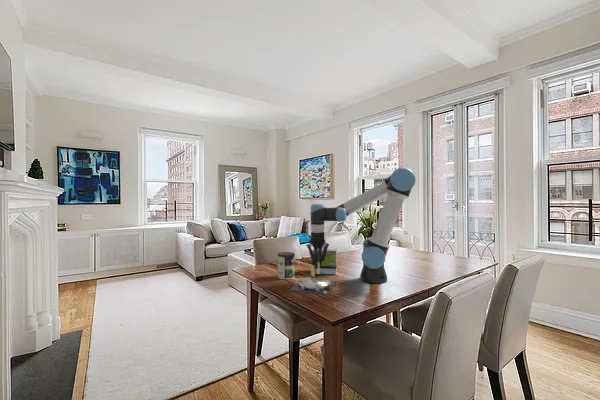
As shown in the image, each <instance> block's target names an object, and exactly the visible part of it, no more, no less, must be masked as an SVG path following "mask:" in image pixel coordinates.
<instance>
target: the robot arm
mask: <svg viewBox="0 0 600 400" xmlns="http://www.w3.org/2000/svg"><path fill="white" fill-rule="evenodd" d="M416 181H417V180H416V175H415V173H414V172H413V170H411V169H409V168H407V167H399V168H396V169H394V171H393V172H392V173H391V175H390V176H388V177H387V178H385V179H383V180H382V182H381V183H379V184H377V185H375V186H374V187H372V188H369V189H368V190H366V191H364V192H363V193H361V194H359V195H356V196H354V197H353V198H350V199H349V200H346V201H345V202H344V203H341V204H339V205H337V206H336V207H325V205H324V203H312V204H311V205H310V231H311V232H310V242H309V243H308V244H306V248H307V249H308V252H309V255H310V260H311V262H312V261H313V262H315V268H317V275H321V274H320V268H321V262H322V261H324V260H325V256H326V252H327V248H328V247H329V246H330V244H329V243H327V242H326V240H325V222H339V223H340V222H341V223H342V222H346V220H347V217H348V216H350V215H351V214H353V213H356V212H358V211H360V210H362V209H364V208H365V207H366V208H367V206H370V205H372V204H373V203H376V202H377V201H379V200H381V199H383V198H385V197H386V198H385V201H384V204H383V207H382V208H381V211H380V214H379V216H378V219H377V221H376V224H375V227H374V230H373V233H372V235H371V236H370V237H368V238H367V239H363V243H362V253H361V260H362V269H361V272H360V273H359V280H360V281H362V282H363V283H369V284H384V283H387V282H388V275H387V272H386V269H385V263H386V256H387V254H388V251H389V249H390V246H389V243H388V242H389V240H390V238H391V235H392V232H393V229H394V228H395V225H396V222H397V219H398V217H399V214H400V212H401V208H402V207H403V204H404V201H405V199H408V198H410V197H409V196H410V194H411V191H412V190H413V187H414V186H415V185H416ZM312 248H313V249H314V256H313V252H312V250H313V249H312ZM322 248H324V249H323V253H322ZM317 250H318V251H317Z"/></svg>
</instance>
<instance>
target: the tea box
mask: <svg viewBox="0 0 600 400" xmlns="http://www.w3.org/2000/svg"><path fill="white" fill-rule="evenodd" d="M323 249H324V247H322V253H323ZM317 251H318V250H317ZM312 252H313V256H314V248H313V249H312ZM311 265H315V262H313V261H312V260H311ZM337 273H338V249H337V248H332V247H331V248H327V252H326V256H325V260H324V261H322V262H321V268H320V274H319V275H337ZM316 274H317V268H315V275H316ZM317 275H318V274H317Z"/></svg>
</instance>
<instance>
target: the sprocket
mask: <svg viewBox="0 0 600 400" xmlns="http://www.w3.org/2000/svg"><path fill="white" fill-rule="evenodd" d="M334 281H335V280H329V279H328V277H325V276H324V277H316V274H315V265H312V264H311V265H310V277H304V278H303V277H299V278H298V280H297V281H295V282H294V285H295V286H299V287H301V289H302V290H305V289H308V290H315V291H319V290H323V289H332V285H334Z"/></svg>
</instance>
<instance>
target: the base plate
mask: <svg viewBox="0 0 600 400" xmlns="http://www.w3.org/2000/svg"><path fill="white" fill-rule="evenodd" d="M333 281H334V285H332V289H323V290H319V291H315V290H308V289H305V290H302V289H301V287H299V286H295V284H293V286H291V288H290V289H289V292H301V293H310V294H311V293H312V294H313V293H314V294H322V295H323V294H324V295H332V293H333V291H334V289H335V287H336V285H337V283H338V281H336V280H333Z"/></svg>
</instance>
